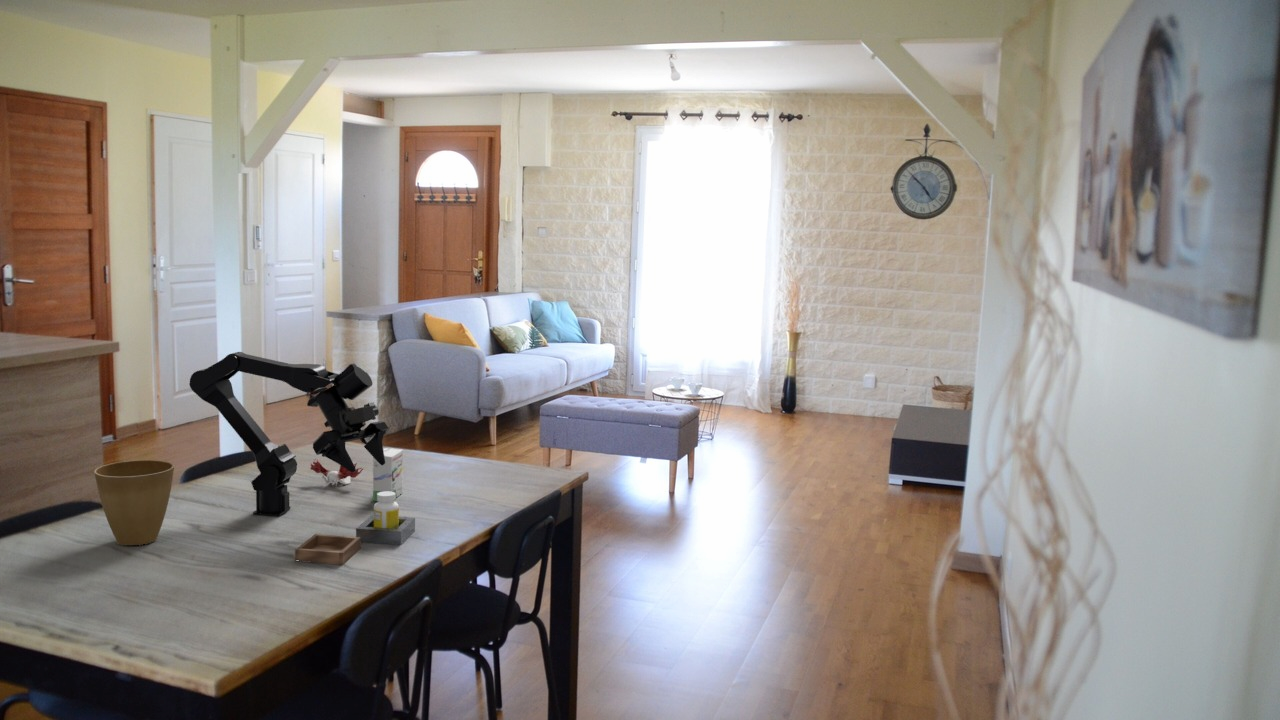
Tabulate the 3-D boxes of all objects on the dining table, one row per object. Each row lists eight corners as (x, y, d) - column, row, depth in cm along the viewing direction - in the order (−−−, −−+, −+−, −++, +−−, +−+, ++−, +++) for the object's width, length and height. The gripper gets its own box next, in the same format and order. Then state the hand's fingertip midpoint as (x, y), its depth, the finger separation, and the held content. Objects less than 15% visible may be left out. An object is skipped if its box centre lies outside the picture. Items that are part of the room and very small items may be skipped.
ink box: (391, 502, 241) (391, 456, 239) (372, 500, 242) (372, 454, 240) (403, 493, 249) (403, 448, 248) (384, 491, 250) (385, 447, 248)
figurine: (375, 482, 258) (375, 458, 257) (352, 493, 247) (352, 468, 246) (325, 476, 262) (325, 452, 261) (300, 487, 251) (300, 462, 250)
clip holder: (356, 541, 211) (356, 528, 211) (371, 527, 221) (372, 515, 221) (400, 544, 210) (401, 531, 210) (414, 530, 220) (415, 517, 220)
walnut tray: (295, 561, 198) (295, 549, 197) (315, 545, 208) (315, 534, 207) (343, 564, 197) (343, 552, 197) (360, 548, 207) (360, 537, 207)
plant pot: (191, 534, 211) (189, 463, 209) (139, 556, 197) (136, 479, 194) (134, 526, 215) (132, 455, 212) (79, 546, 200) (76, 471, 198)
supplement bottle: (400, 532, 218) (401, 490, 217) (395, 540, 213) (396, 497, 212) (376, 531, 218) (376, 489, 217) (370, 539, 213) (371, 496, 212)
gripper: (324, 396, 212) (358, 455, 208) (385, 387, 228) (418, 442, 225) (297, 424, 217) (330, 483, 213) (358, 414, 233) (390, 468, 229)
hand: (369, 467), depth 220 cm, fingers open, 9 cm apart
